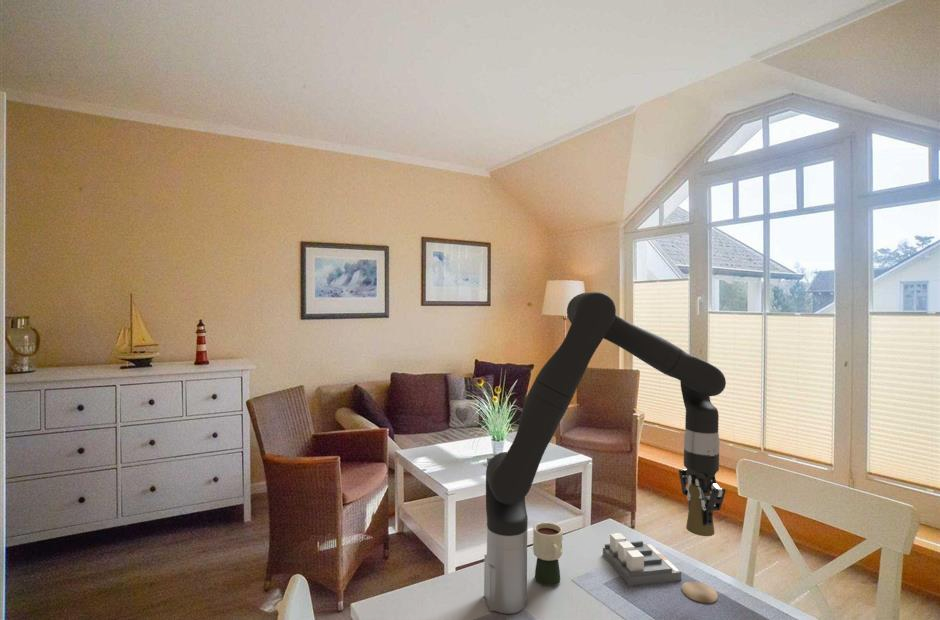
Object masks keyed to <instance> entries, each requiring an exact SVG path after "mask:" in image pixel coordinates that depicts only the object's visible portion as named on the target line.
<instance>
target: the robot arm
mask: <svg viewBox="0 0 940 620" xmlns="http://www.w3.org/2000/svg"><path fill="white" fill-rule="evenodd" d="M616 310H617V307H616V305H615V302H614V299H612V297H610V296H609V295H608V294H606V293H604V292H600V291H599V292H598V291H591V292H590V291H589V292H582V293H579V294H577V295H575V296H574V297H572V298H571V299H570V301H568V304H567V308H566V315H567V318H568V320H569V322H570V323H571V324H570V326H569V328H568V330H567V334H566V335H565V337H564V340H563V341H562V343H561V344H560V346H559V347H558V348H557V349H556V350H555V352H554V353H553V354H552V355H551V357H550V358H549V359H548V360H547V361H546V362H545V364H544V365H543V366H542V368H541V369H540V371H539V372H538V374H537V375H536V378H535V379H534V381H533V383H532V385H531V387H530V389H529V391H528V393H527V396H526V397H525V401H524V404H523V407H522V411H521V413H520V419H519V424H518V427H517V431H516V433H515V437H514V439H513V441H512V443H511V445H510V447H509V448H508V450H507V451H504V452H503V451H502V452H499V453H497V454H495V455H493V456H492V457H491V459H490V460H489V462H488V463H487V466H486V471H485V510H486V511H485V512H486V554H484V557H483V558H484V559H483V560H484V562H483V563H484V564H483V565H484V571H483V572H484V573H483V575H484V576H483V579H484V580H483V584H484V585H483V595H484V596H483V597H484V599H485V601H486V606H487V608H488V610H489V611H490V612H498V613H500V614H517V613H518V612H521V611H523V610H524V609H525V607H526V606H527V599H528V597H527V596H528V590H527V587H528V524H529V523H528V512H527V507H526V496H528V493H529V492H530V489H531V487H532V485H533V482H534V479H535V478H536V474H537V471H538V469H539V466H540V464H541V461H542V458H543V455H545V454H544V453H545V451H546V450H547V448H548V445H549V444H550V442H551V440H552V438H553V436H554V434H555V433H556V431H557V429H558V426H559V425H560V423H561V420H562V419H563V417H564V416H565V413H566V412H567V411H568V408H569V406H570V404H571V402H572V400H573V398H574V395H575V394H576V391H577V389H578V387H579V385H580V383H581V380H582V379H583V377H584V375H585V372H586V370H587V368H588V366H589V363H590V362H591V359H592V357H593V355H594V354H595V352H596V351H597V349H598V347H599V346H600V345H601V343H602V341H603V340H606V341H609V342H610V343H611V344H614V345H615V346H617V347H620V348H621V349H623V350H624V351H626V352H628V354H629V353H630V355H633V356H634V357H636V358H637V359H639V360H641V361H642V362H644V363H645V364H647V365H649V366H650V367H652V368H653V369H655V370H657V371H659V372H661V373H662V374H663V375H666V376H668V377H670V378H674V379H676V380H678V381H680V382H679V383H680V389H681V390H680V391H681V395H682V401H683V404H684V407H685V418H684V419H685V423H684V424H685V425H684V426H685V427H684V434H683V435H684V436H683V466H684V467H685V468H683V469H682V468H681V469H679V470H678V474H679V479H680V485H681V492H682V494H683V496H686V500H687V501H688V508H689V507H690V501H691V495H690V493H689V486H690V484H693V483H695V484H696V486H697V488H698V490H699V499H701V504H702V521H703V525H704V526H705V525H709V524H711V525H712V520H713V521H714V518H713V515H714V512H715V511H717V512H718V511H719V512H720V510H721V508H722V505H723V501H724V499H725V494H726V489H725V487H720V486H719V485H718V484H717V479H716V474H717V473H718V472H719V471H720V435H719V434H720V433H719V419H720V418H719V417H720V416H719V410H718V409H717V407H716V406H714V404H713V403H712V401H711V398H710V397H716V396H718V395H720V394H721V393H722V392H723V391H724V390H725V388H726V384H727V382H726V381H727V380H726V378H725V375H724V373H723V372H722V371H721V370H720V369H719V368H718V367H716V366H715V365H713V364H711V363H709V362H708V361H706V360H703V359H701V358H698V357H697V356H695V355H692V354H690V353H688V352H686V351H685V350H683V349H682V348H680V347H678V346H677V345H675V344H674V343H672V342H671V341H668V340H667V339H665V338H663V337H662V336H660V335H657V334H655V333H653V332H651V331H648V330H646V329H644V328H642V327H640V326H638V325H635V324H633V323H632V322H629V321H627V320H626V319H624V318H622V317H620V316H619V315H617V314H616V313H617V311H616ZM703 492H704V493H711V496H704V495H703ZM708 499H709V502H708V505H707V503H706V500H708Z"/></svg>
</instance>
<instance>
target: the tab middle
mask: <svg viewBox="0 0 940 620" xmlns="http://www.w3.org/2000/svg"><path fill="white" fill-rule="evenodd" d="M630 542H631V541H629V540H628V541H627V540H626V541H625V542H618V558H619V559H620V560H621V561H622V562H623V561H627V551H631V550H635V547H634V546H633V545H632V544H631V543H630Z"/></svg>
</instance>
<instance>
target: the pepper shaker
mask: <svg viewBox="0 0 940 620" xmlns="http://www.w3.org/2000/svg"><path fill="white" fill-rule="evenodd" d="M689 493H690V495H691V501H690V507H689V506H688V512H687V513H688V515H687V520H686V525H685V528H686V530H687V531H688V532H689V533H692V534H694V535H695V536H696V535H697V536H699V537H700V536H701V537H712V536H715V526H714V519H713V520H712V525H711V524H709V525H705V526H704V525H703V521H702V504H701V499H699V490H698V488H697V486H696V484H695V483H693V484H690V486H689ZM703 495H704V496H711V493H704V492H703ZM708 502H709V499H708V500H706V503H707V505H708Z"/></svg>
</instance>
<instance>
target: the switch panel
mask: <svg viewBox="0 0 940 620" xmlns="http://www.w3.org/2000/svg"><path fill="white" fill-rule="evenodd" d="M629 542H630V543H631V544H632V545H633V546H634V547H635V550H638V551H639V552H640V553H641V554H642V555H643V556H644V570H639V571H630V570H629V569H628V568H627V567H626V562H627V561H623V562H622V561H621V560H620V559H619V558H618V552H614V553H613V551H612V550H611V549H610V543H605V544H604V547H602V556H603V557H604V559H605V560H606V561H607V562H608V563H609V564H610V566H611V567H612V568H614V570H615V571H616V572H617V574H619V576H620V575H621V576H622V577H621V576H620V577H621V578H622V579H623V580H624V582H626V583H627V585H628V586H638V585H647V584H656V583H667V582H675V581H682V571H681V570H680V569H679V568H677V566H676V565H674V564H673V563H672V562H671V561H670V560H669V559H668V558H667V557H665V556H664V555H663V554H662V553H661V552H660V551H659V550H658V549H657V548H655V547H654V546H653V545H652V544H651V543H644V541H643V540H639V541H638V540H637V541H636V540H635V541H629Z"/></svg>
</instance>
